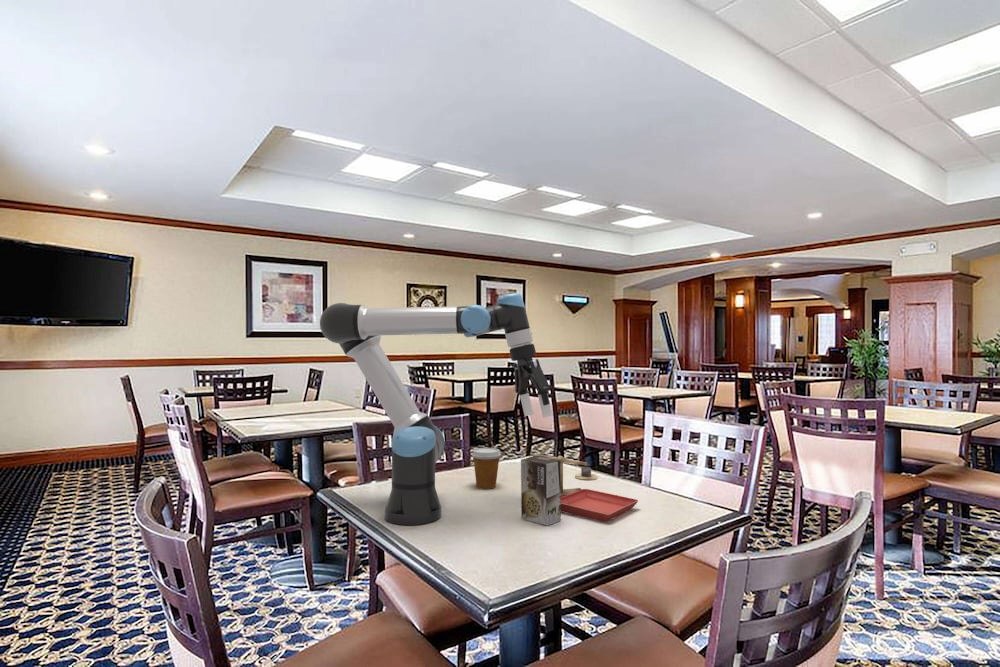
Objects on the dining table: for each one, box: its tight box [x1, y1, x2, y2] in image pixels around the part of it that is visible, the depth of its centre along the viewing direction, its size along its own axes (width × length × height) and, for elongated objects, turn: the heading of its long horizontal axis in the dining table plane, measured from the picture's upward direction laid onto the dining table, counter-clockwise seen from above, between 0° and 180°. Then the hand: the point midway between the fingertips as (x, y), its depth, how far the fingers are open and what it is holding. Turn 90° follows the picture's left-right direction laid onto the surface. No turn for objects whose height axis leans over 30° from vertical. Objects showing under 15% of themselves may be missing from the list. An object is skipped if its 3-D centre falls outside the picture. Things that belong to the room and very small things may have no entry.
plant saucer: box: [560, 488, 639, 523], centre depth 155 cm, size 18×18×3 cm
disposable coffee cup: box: [471, 447, 502, 490], centre depth 180 cm, size 10×10×12 cm
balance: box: [532, 453, 598, 497], centre depth 168 cm, size 25×7×14 cm, turn 108°
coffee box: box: [520, 455, 562, 526], centre depth 147 cm, size 9×6×16 cm
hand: (538, 415), depth 161 cm, fingers open, 13 cm apart
